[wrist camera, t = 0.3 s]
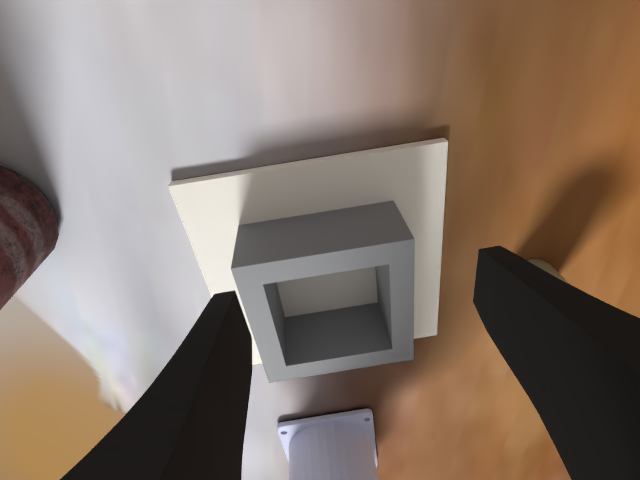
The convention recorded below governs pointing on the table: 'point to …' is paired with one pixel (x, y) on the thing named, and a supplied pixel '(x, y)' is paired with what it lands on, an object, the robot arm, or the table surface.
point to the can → (22, 231)
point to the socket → (325, 254)
